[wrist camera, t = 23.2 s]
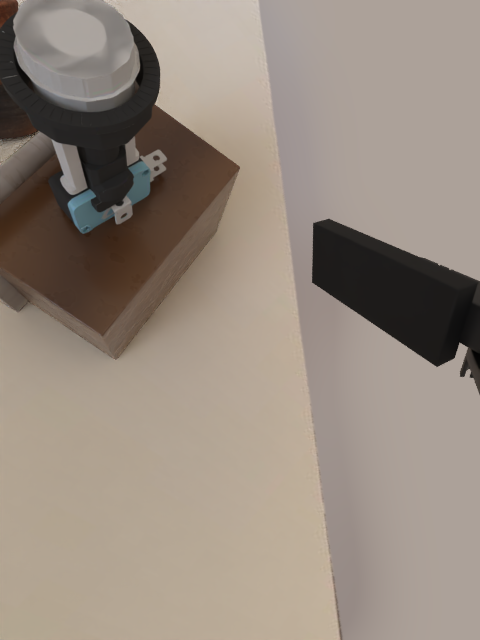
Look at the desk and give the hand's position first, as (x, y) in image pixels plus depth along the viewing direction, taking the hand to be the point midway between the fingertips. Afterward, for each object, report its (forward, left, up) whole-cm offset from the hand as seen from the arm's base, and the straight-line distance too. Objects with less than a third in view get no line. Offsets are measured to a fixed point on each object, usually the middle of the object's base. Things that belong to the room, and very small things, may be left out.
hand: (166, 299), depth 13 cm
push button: (-7, +5, -7) cm, 11 cm away
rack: (-7, +5, -16) cm, 18 cm away
